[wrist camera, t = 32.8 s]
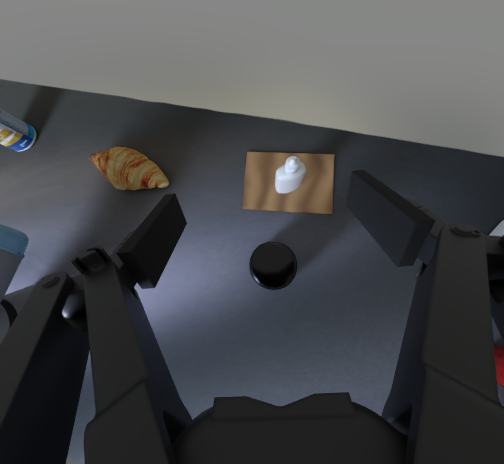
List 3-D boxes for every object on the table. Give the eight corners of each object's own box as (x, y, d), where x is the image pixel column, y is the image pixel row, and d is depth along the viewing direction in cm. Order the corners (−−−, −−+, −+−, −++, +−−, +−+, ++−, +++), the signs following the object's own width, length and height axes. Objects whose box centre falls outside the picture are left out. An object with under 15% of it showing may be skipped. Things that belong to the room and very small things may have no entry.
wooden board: (241, 208, 44) (241, 208, 44) (247, 152, 46) (247, 151, 46) (331, 214, 42) (332, 214, 42) (333, 155, 44) (334, 154, 44)
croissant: (182, 181, 51) (175, 154, 44) (159, 207, 45) (147, 180, 38) (113, 159, 53) (96, 130, 46) (83, 181, 47) (59, 152, 41)
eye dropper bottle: (277, 174, 44) (280, 143, 32) (301, 179, 44) (313, 148, 32) (273, 192, 44) (274, 167, 32) (297, 197, 43) (308, 173, 31)
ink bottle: (298, 248, 42) (308, 243, 30) (292, 289, 41) (300, 301, 29) (254, 241, 43) (247, 233, 31) (247, 281, 42) (237, 288, 30)
